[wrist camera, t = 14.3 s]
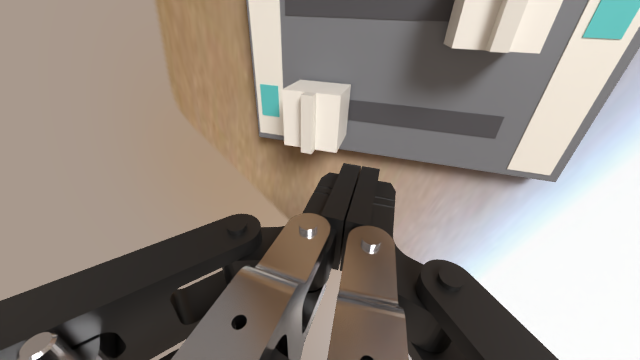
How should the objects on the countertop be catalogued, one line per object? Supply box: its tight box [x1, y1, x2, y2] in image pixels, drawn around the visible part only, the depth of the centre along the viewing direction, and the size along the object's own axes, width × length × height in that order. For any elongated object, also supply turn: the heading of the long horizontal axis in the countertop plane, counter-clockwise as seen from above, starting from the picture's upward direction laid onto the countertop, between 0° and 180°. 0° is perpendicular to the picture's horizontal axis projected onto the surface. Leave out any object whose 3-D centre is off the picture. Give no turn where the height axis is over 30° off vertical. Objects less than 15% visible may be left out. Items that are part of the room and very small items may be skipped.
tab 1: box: [282, 80, 351, 154], centre depth 19 cm, size 4×4×4 cm
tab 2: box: [443, 0, 563, 54], centre depth 13 cm, size 4×4×4 cm
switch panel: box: [246, 0, 640, 182], centre depth 18 cm, size 14×24×2 cm, turn 88°
